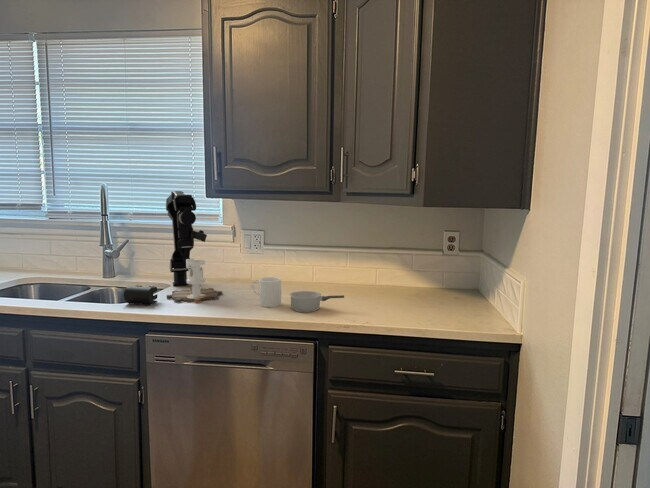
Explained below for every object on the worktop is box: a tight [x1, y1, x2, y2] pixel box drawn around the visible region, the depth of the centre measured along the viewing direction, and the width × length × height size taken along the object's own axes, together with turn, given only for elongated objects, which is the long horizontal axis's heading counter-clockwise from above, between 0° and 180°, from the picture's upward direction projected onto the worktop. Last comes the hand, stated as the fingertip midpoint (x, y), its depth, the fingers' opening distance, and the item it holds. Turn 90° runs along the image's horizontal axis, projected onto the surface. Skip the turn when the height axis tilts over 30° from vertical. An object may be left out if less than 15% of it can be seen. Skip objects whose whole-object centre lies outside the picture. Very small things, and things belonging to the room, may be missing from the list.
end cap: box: [123, 285, 158, 306], centre depth 165 cm, size 10×7×7 cm
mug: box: [250, 276, 282, 308], centre depth 167 cm, size 8×12×10 cm
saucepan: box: [289, 290, 345, 313], centre depth 160 cm, size 12×20×6 cm, turn 85°
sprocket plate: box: [166, 287, 223, 304], centre depth 178 cm, size 22×22×2 cm
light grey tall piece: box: [186, 258, 206, 297], centre depth 171 cm, size 7×7×15 cm
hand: (187, 262), depth 181 cm, fingers open, 9 cm apart
